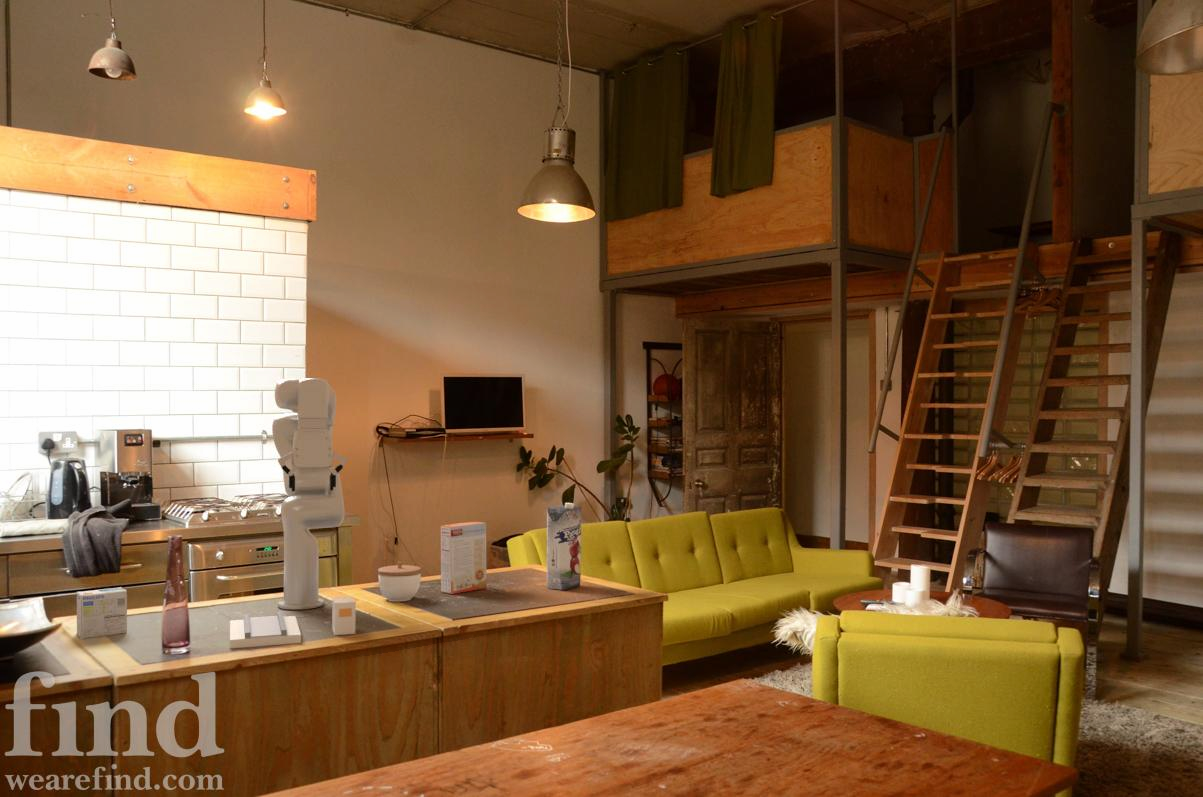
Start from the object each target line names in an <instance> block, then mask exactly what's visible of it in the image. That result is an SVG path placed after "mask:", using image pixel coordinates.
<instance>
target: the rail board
mask: <svg viewBox="0 0 1203 797" xmlns="http://www.w3.org/2000/svg"><path fill="white" fill-rule="evenodd" d="M301 643H302V634H301V631H300V627H299V624H298V620H297V618H296V616H295V615H292V616H291V615H289V616H284V614H283V611H277V613H276V615H269V616H256V617H254V616H253V617H250V615H249V613H244V614H243V619H234V620H233V619H232V620H230V621H229V649H239V648H242V649H243V648H252V647H253V648H255V647H266V646H278V645H288V644H290V645H291V644H301Z"/></svg>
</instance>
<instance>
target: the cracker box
mask: <svg viewBox="0 0 1203 797" xmlns="http://www.w3.org/2000/svg"><path fill="white" fill-rule="evenodd" d="M484 589H487V522H481V521H469V522H459V523H458V522H457V523H450V524H443V525H440V592H441V593H444V594H450V595H455V594H460V593H461V592H462V593H466V592H472V591H478V590H484ZM462 593H461V594H462Z"/></svg>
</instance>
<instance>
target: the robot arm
mask: <svg viewBox="0 0 1203 797" xmlns="http://www.w3.org/2000/svg"><path fill="white" fill-rule="evenodd" d="M274 400H275V404H276V406H277V407H278V408H279V409H284V410H289V411H290V413H283V414H280V415H278V416H276V417H275V418H273V422H272V426H271V427H272V430H271V431H272V439H273V444H274V446H275V449H276V451H277V453H278V455H279V456H280V458H278V459H277V463H278V464H279V465H280V468H281V469H282V472H283V473H282V474H283V483H284V484H283V485H284V489H285V493H286V494H287V496H288V497H286V498H285V499H284V500H283V502H282V503H281V506H280V514H281V515H280V516H281V522H282V530H283V599H282V600H280V601H278V602H277V607H278V608H279V609H282V610H295V611H296V610H308V609H309V610H310V609H316V608H319V607H322V606H324V604H325V600H324V599H322V598H320V597H319V569H320V568H319V566H320V565H319V564H320V563H319V562H320V561H319V560H320V559H319V556H320V555H319V553H320V552H319V549H320V548H319V547H320V546H319V541H318V540H317V538H316V537H315V536H314V535H313V534H312V533H311V532H310V530H312V529H323V528H324V529H325V528H336V527H340V525H342V524H343V522H344V520H345V512H346V511H345V504H344V503H345V502H344V496H343V493H344V492H343V488H342V481H341V475H340V472H341V471H342V470H343V468H344V466H345V464H346V462H347V460H348V459H347V457H345V456H343V455H341V454H338V453H337V452H334V451H333V440H332V436H333V434H334V427H335V426H334V425H335V418H336V411H337V395H336V392H335V390H334V389H333V387H331V385H329V383H328V381H327V380H326V379H323V378H315V377H314V378H313V377H312V378H309V377H308V378H283V379H280V380H278V381H277V383H276V384H275V388H274ZM334 459H337V460H338V461H339V464H338V465H337V466H336V467H334V466H333V462H334Z"/></svg>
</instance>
